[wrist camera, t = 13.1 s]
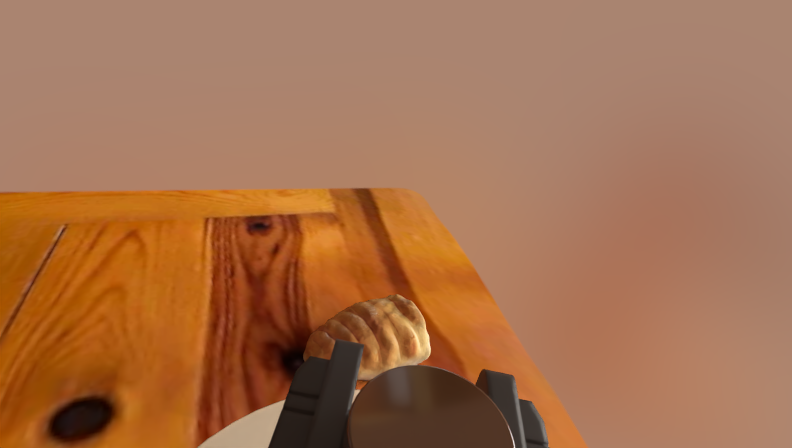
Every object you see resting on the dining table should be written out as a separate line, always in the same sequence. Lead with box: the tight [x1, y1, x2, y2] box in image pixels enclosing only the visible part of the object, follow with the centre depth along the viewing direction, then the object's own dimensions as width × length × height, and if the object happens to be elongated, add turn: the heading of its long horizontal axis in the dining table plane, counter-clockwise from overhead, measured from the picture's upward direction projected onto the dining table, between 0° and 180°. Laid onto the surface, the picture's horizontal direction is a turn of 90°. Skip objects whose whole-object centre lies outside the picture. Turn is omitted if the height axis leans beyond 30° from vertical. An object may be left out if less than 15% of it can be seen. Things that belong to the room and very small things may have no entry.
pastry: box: [303, 294, 431, 381], centre depth 35 cm, size 9×7×4 cm
